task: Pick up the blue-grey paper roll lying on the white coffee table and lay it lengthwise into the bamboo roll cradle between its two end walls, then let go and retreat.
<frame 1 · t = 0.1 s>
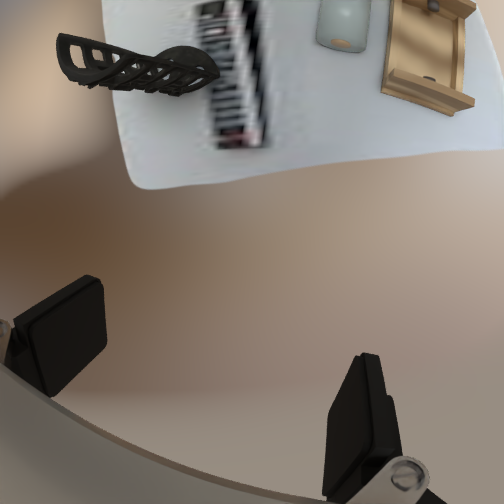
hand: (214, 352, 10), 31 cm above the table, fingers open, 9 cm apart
roll: (343, 22, 30), on the table
cradle: (423, 51, 29), on the table
holder: (183, 77, 37), on the table
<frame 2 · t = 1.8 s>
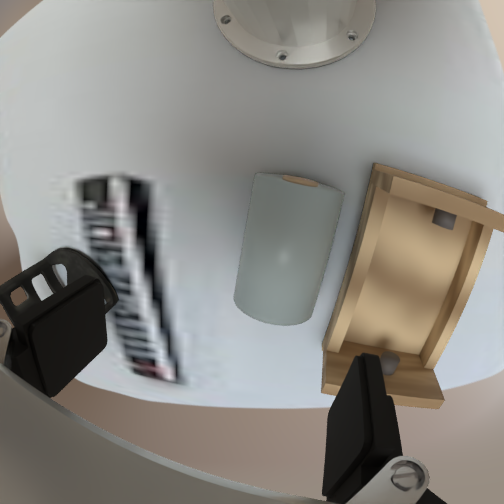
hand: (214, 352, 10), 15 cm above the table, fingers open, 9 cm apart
roll: (277, 232, 24), on the table, tilted 20°
cradle: (404, 276, 23), on the table
holder: (82, 287, 31), on the table
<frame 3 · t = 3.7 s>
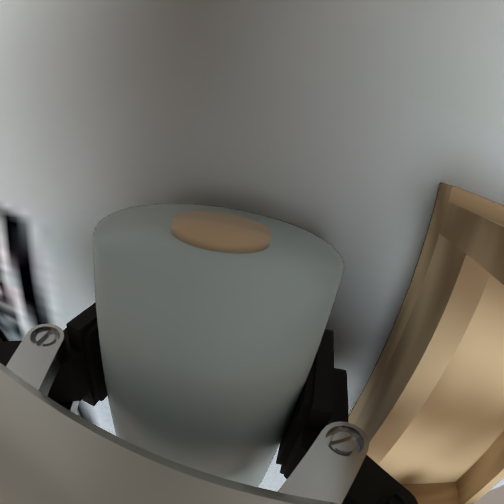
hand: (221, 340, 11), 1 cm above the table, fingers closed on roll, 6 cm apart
roll: (226, 325, 12), on the table, touching gripper
cradle: (462, 392, 10), on the table
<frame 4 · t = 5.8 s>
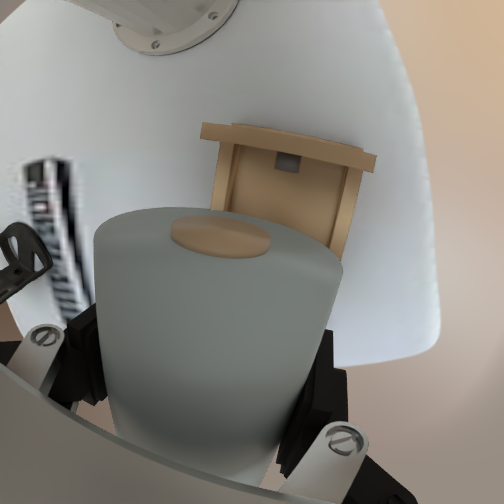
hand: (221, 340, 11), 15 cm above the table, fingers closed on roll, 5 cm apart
roll: (226, 328, 12), point 14 cm above the table, touching gripper
cradle: (278, 232, 25), on the table
holder: (29, 256, 33), on the table
when the fingers open (5 cm above the table, at t = 8.2 s): roll drops 3 cm, resting on cradle.
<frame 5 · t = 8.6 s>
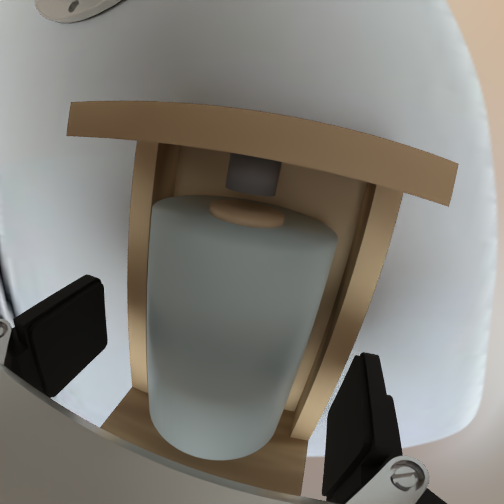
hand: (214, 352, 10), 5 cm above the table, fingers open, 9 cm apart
roll: (241, 297, 14), point 1 cm above the table, touching cradle
cradle: (249, 288, 15), on the table
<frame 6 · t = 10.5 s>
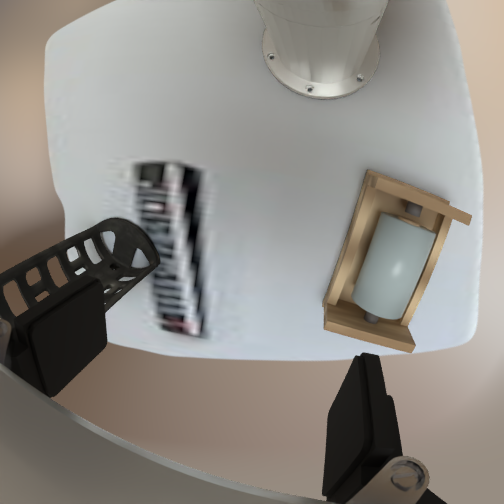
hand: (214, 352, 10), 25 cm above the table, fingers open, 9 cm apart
roll: (386, 255, 32), point 1 cm above the table, touching cradle
cradle: (386, 253, 32), on the table
holder: (126, 252, 40), on the table
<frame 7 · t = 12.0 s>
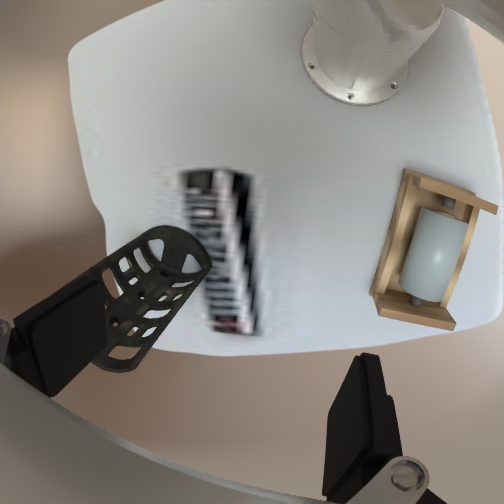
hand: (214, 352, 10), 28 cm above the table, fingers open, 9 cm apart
roll: (425, 245, 33), point 1 cm above the table, touching cradle
cradle: (423, 243, 34), on the table
holder: (175, 258, 42), on the table
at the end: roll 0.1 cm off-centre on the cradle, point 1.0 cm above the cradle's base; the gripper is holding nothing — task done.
